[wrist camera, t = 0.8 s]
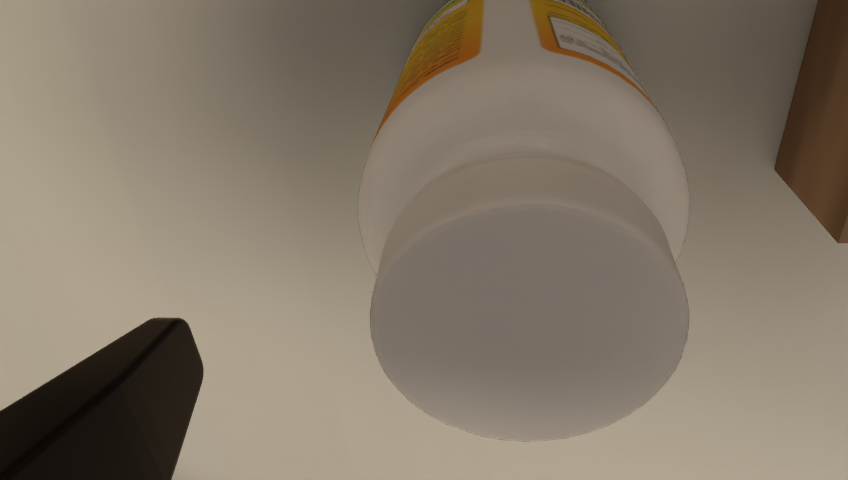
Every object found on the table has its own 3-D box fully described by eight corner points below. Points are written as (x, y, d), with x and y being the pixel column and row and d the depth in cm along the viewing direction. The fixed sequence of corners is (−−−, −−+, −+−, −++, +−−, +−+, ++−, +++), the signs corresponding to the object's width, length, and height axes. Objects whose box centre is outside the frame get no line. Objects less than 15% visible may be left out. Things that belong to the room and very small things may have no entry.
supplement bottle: (418, 184, 18) (349, 474, 9) (393, -15, 15) (266, 156, 7) (610, 175, 17) (719, 483, 9) (625, -37, 14) (805, 126, 6)
